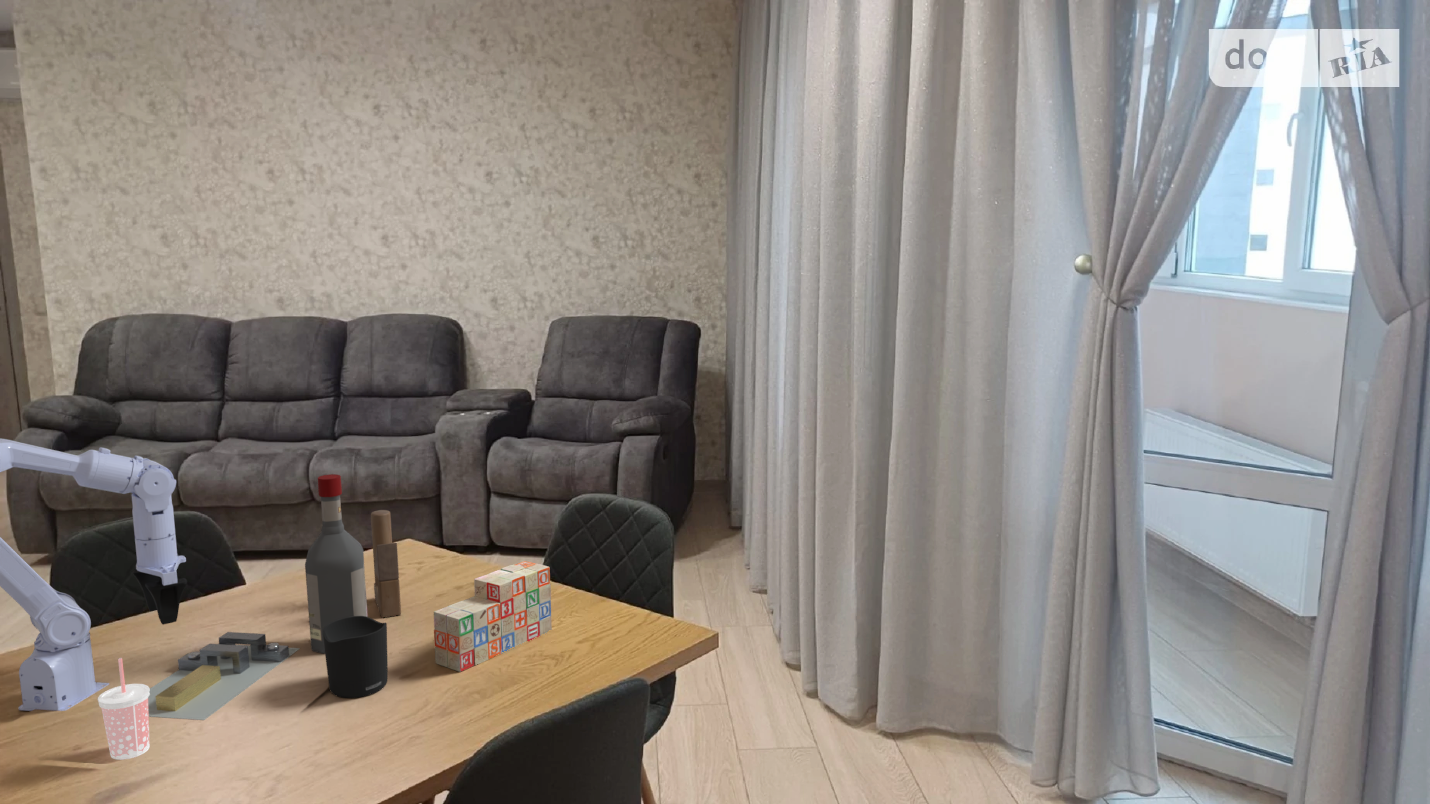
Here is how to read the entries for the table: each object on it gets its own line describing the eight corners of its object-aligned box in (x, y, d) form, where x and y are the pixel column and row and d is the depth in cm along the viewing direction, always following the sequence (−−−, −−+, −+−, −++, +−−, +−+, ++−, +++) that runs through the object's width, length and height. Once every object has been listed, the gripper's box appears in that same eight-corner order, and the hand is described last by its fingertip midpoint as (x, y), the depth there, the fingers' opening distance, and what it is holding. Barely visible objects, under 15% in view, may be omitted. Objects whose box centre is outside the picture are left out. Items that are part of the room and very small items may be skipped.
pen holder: (324, 703, 154) (319, 641, 152) (330, 677, 163) (325, 618, 161) (389, 696, 156) (385, 634, 154) (391, 671, 165) (387, 612, 163)
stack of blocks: (460, 673, 164) (457, 601, 162) (434, 664, 168) (431, 593, 166) (552, 631, 182) (550, 565, 179) (527, 623, 185) (525, 559, 183)
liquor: (369, 632, 181) (358, 468, 176) (368, 651, 173) (357, 480, 168) (314, 638, 178) (302, 472, 173) (310, 658, 170) (297, 485, 165)
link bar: (175, 711, 150) (173, 697, 150) (156, 709, 151) (155, 696, 150) (220, 679, 161) (219, 666, 161) (203, 678, 161) (202, 665, 161)
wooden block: (381, 618, 188) (375, 525, 185) (374, 600, 197) (369, 510, 194) (401, 615, 189) (396, 522, 186) (394, 597, 199) (388, 508, 196)
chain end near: (240, 673, 163) (238, 652, 162) (178, 670, 164) (176, 648, 164) (249, 667, 165) (247, 645, 165) (188, 663, 167) (186, 642, 166)
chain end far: (280, 662, 167) (279, 641, 167) (220, 658, 169) (218, 637, 168) (289, 656, 170) (287, 635, 169) (229, 652, 171) (227, 631, 170)
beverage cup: (144, 739, 143) (135, 645, 141) (163, 753, 139) (153, 657, 137) (97, 756, 138) (86, 659, 136) (115, 771, 135) (104, 672, 132)
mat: (204, 723, 147) (204, 719, 147) (111, 717, 150) (110, 713, 149) (300, 651, 173) (300, 648, 173) (219, 647, 175) (219, 643, 175)
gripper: (195, 540, 160) (202, 622, 162) (170, 521, 170) (177, 598, 172) (145, 549, 155) (153, 633, 157) (123, 529, 166) (131, 608, 168)
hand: (162, 616), depth 164 cm, fingers open, 7 cm apart
